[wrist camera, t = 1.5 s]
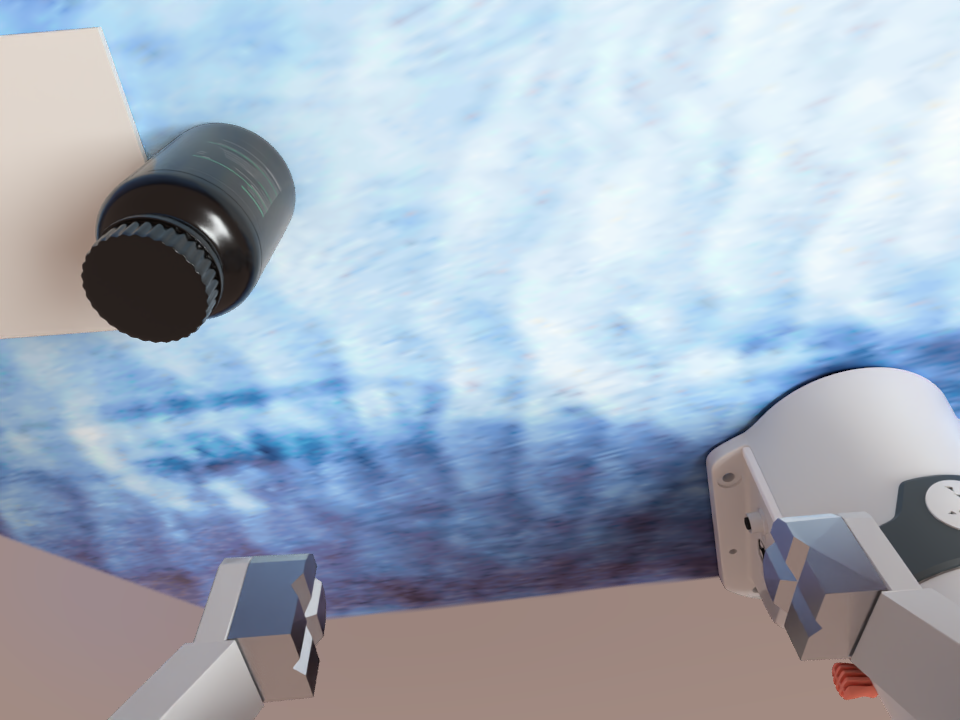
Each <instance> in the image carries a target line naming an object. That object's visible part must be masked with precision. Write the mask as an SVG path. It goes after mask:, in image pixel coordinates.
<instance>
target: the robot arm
mask: <svg viewBox="0 0 960 720" xmlns="http://www.w3.org/2000/svg"><path fill="white" fill-rule="evenodd" d="M706 467H707V475H708V484H709V493H710V501H711V510H712V519H713V527H714V536H715V545H716V553H717V562H718V570H719V577H720V580H721V582H722V584H723V586H724V587H725V589H726V590H728V591H730V592H733V593H735V594H738V595H742V596H746V597H751V598H758V599H762V601H763V603H764V605H765V608H766V610H767V611H768V614H769V615H770V617H771V619H772V620H773V621H774V623H776V624H777V625H778V626H779V627H781V628H783V629H785V630H786V631H787V633H788V635H789V637H790V640H791V642H792V644H793V646H794V648H795V650H796V652H797V654H798V656H799V658H800V660H801V661H803V660H825V659H843V658H844V659H846V658H849V659H850V661H851V662H852V663H853V664H849V663H835V664H834V665H833V668H832V676H834V678H833V681H834V684H835V685H836V689H837V691H838V692H839V695H840V696H841V697H843V699H845V700H849V699H855V698H858V697H863V696H866V697H870V698H874V697H876V696H877V695H879V697H880V699H881V700H882V703H883V704H884V706H885V708H886V710H887V712H888V714H889V716H890V718H891V720H960V419H958V418H957V416H956V415H955V413H954V411H953V410H952V408H951V406H950V404H949V402H948V401H947V399H946V397H945V396H944V394H943V393H942V391H941V390H940V389H939V388H938V387H937V386H936V385H935V384H933V383H932V382H931V381H929V380H928V379H926V378H924V377H922V376H920V375H918V374H915V373H912V372H909V371H906V370H901V369H895V368H885V367H873V368H860V369H854V370H848V371H844V372H840V373H836V374H833V375H829V376H826V377H824V378H821V379H818V380H816V381H814V382H811V383H809V384H807V385H805V386H803V387H801V388H799V389H797V390H796V391H794V392H792V393H791V394H789V395H788V396H786V397H785V398H783V399H782V400H780V401H779V402H778V403H776V404H775V405H774V406H773V407H772V408H770V409H769V410H768V411H767V412H766V413H765V414H764V415H763V416H762V417H761V418H760V419H759V420H758V421H757V422H756V423H755V424H754V425H753V426H752V427H750V428H749V429H748V430H747V431H746V432H744V433H742V434H740V435H738V436H736V437H734V438H733V439H731V440H729V441H727V442H725V443H723V444H721V445H720V446H718V447H717V448H715V449H714V450H713V451H711V452H710V453H709V455H708V457H707V459H706ZM727 473H729V474H727ZM725 474H726V475H725ZM316 569H317V564H316V562H315V559H314V556H313V554H291V555H270V556H252V557H236V558H225V559H224V560H223V562H222V563H221V564H220V566H219V567H218V570H217V573H216V576H215V579H214V582H213V585H212V588H211V591H210V594H209V597H208V600H207V603H206V606H205V609H204V612H203V615H202V618H201V621H200V624H199V627H198V630H197V633H196V636H195V638H194V641H193V643H186V644H184V645H183V646H182V647H181V648H180V649H179V650H177V651H176V652H175V653H174V654H173V655H172V657H170V658H169V659H168V660H167V661H166V662H165V663H164V664H163V665H162V666H161V667H160V668H159V669H158V670H157V672H155V673H154V674H153V675H152V676H151V677H150V678H149V679H148V680H147V681H146V682H145V683H144V684H143V685H142V686H141V687H140V688H139V689H138V690H137V691H136V692H135V693H134V694H133V695H132V696H131V697H130V698H129V699H128V700H127V701H126V702H125V703H124V704H123V705H122V706H121V707H120V708H119V709H118V710H117V711H116V712H114V713H113V714H112V715H111V717H110V718H108V719H107V720H254V719H255V717H256V716H257V714H258V713H259V712H260V710H261V709H262V708H263V706H264V704H263V702H273V701H282V700H292V699H302V698H311V697H314V690H315V685H316V678H317V673H318V667H319V657H318V654H317V651H316V648H315V645H316V644H317V643H318V642H319V641H320V640H321V639H322V638H323V636H324V629H325V622H326V600H325V592H324V588H323V585H322V582H320V581H319V580H317V579H316V578H315V575H316Z"/></svg>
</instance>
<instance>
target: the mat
mask: <svg viewBox="0 0 960 720" xmlns="http://www.w3.org/2000/svg"><path fill="white" fill-rule="evenodd" d="M147 161H148V159H147V156H146V154H145V151H144V148H143V145H142V142H141V139H140V136H139V133H138V131H137V128H136V125H135V122H134V119H133V116H132V113H131V111H130V108H129V105H128V102H127V99H126V96H125V93H124V91H123V88H122V85H121V82H120V79H119V76H118V73H117V70H116V68H115V65H114V62H113V59H112V56H111V53H110V50H109V48H108V45H107V42H106V39H105V36H104V33H103V30H102V28H101V27H92V28H81V29H69V30H57V31H46V32H34V33H22V34H10V35H0V339H5V338H18V337H32V336H45V335H59V334H72V333H85V332H99V331H112V330H118V329H117V328H115V327H113V326H111V325H109V324H108V323H107V321H106V320H105V319H103V318H101V317H100V316H99V314H98V312H97V311H96V310H95V309H94V308H92V306H91V302H90V301H89V300H88V299H87V297H86V291H85V290H84V288H83V287H82V284H83V280H82V278H81V274H82V272H83V269H82V264H83V262H84V261H85V256H86V254H87V252H88V251H89V250H91V247H92V245H93V244H94V243H95V242H96V239H95V226H96V219H97V215H98V212H99V210H100V207H101V205H102V203H103V202H104V200H105V198H106V197H107V196H108V195H109V194H110V192H111V191H112V190H113V189H114V188H115V187H116V186H117V185H119V184H120V183H121V182H122V181H123V180H125V179H126V178H127V177H128V176H129V175H131V174H132V173H133V172H134V171H136V170H137V169H138V168H139V167H141V166H142V165H143V164H144V163H146V162H147Z"/></svg>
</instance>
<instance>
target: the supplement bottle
mask: <svg viewBox="0 0 960 720" xmlns="http://www.w3.org/2000/svg"><path fill="white" fill-rule="evenodd" d="M294 207H295V187H294V182H293V179H292V176H291V173H290V171H289V169H288V167H287V165H286V163H285V161H284V160H283V158H282V157H281V156H280V154H279V153H278V152H277V151H276V150H275V149H274V147H273V146H271V145H270V144H269V143H268V142H267V141H266V140H264V139H263V138H262V137H260V136H259V135H257V134H255V133H253V132H252V131H250V130H247V129H245V128H242V127H239V126H236V125H232V124H225V123H209V124H203V125H199V126H196V127H194V128H191V129H189V130H188V131H186V132H184V133H183V134H181V135H180V136H178V137H177V138H176V139H174V140H173V141H172V142H170V143H169V144H168V145H167V146H165V147H164V148H163V149H162V150H161V151H159V152H158V153H157V154H156V155H154V156H153V157H152V158H151V159H149V160H148V161H147V162H146V163H144V164H143V165H142V166H141V167H139V168H138V169H137V170H136V171H134V172H133V173H132V174H131V175H129V176H128V177H127V178H126V179H125V180H123V181H122V182H121V183H120V184H119V185H117V186H116V187H115V188H114V189H113V190H112V191H111V192H110V194H109V195H108V196H107V197H106V198H105V200H104V202H103V203H102V205H101V207H100V210H99V212H98V215H97V219H96V226H95V239H96V242H95V243H94V244H93V245H92V247H91V250H89V251H88V252H87V254H86V256H85V261H84V262H83V264H82V269H83V272H82V274H81V278H82V280H83V284H82V287H83V288H84V290H85V291H86V297H87V299H88V300H89V301H90V302H91V306H92V308H94V309H95V310H96V311H97V312H98V314H99V316H100V317H101V318H103V319H105V320H106V321H107V323H108V324H109V325H111V326H113V327H115V328H117V329H118V330H119V331H120V332H122V333H126V334H128V335H129V336H130V337H133V338H139V339H141V340H143V341H152V342H155V343H157V342H166V343H167V342H170V341H172V340H174V341H178V340H180V339H181V338H183V337H184V338H185V337H188V336H190V334H191V333H193V332H196V331H197V330H198V329H199V328H200V326H201V325H202V324H203V323H204V322H205V321H206V319H211V318H215V317H218V316H221V315H223V314H226V313H228V312H230V311H231V310H233V309H235V308H236V307H237V306H239V305H240V304H241V303H242V302H243V301H244V300H245V299H246V298H247V297H248V296H249V294H250V293H251V291H252V290H253V288H254V287H255V285H256V284H257V282H258V280H259V278H260V276H261V274H262V273H263V271H264V269H265V267H266V265H267V264H268V262H269V260H270V258H271V256H272V254H273V253H274V251H275V249H276V247H277V245H278V243H279V242H280V240H281V238H282V236H283V234H284V232H285V231H286V229H287V226H288V224H289V222H290V220H291V218H292V215H293V212H294Z"/></svg>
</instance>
